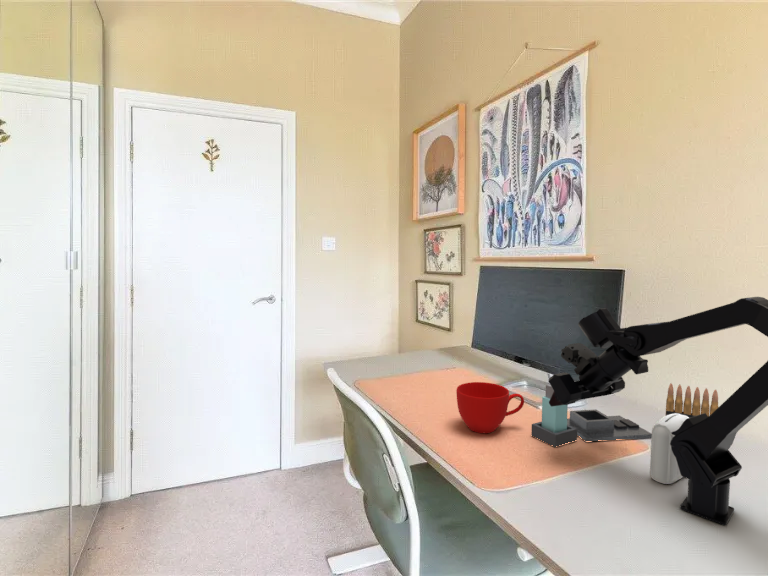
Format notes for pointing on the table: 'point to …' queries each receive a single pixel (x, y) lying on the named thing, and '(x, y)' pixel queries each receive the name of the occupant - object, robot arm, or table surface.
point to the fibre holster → (554, 435)
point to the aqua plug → (553, 413)
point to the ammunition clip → (687, 402)
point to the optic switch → (604, 426)
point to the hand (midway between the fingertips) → (564, 401)
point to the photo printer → (665, 449)
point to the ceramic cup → (484, 405)
